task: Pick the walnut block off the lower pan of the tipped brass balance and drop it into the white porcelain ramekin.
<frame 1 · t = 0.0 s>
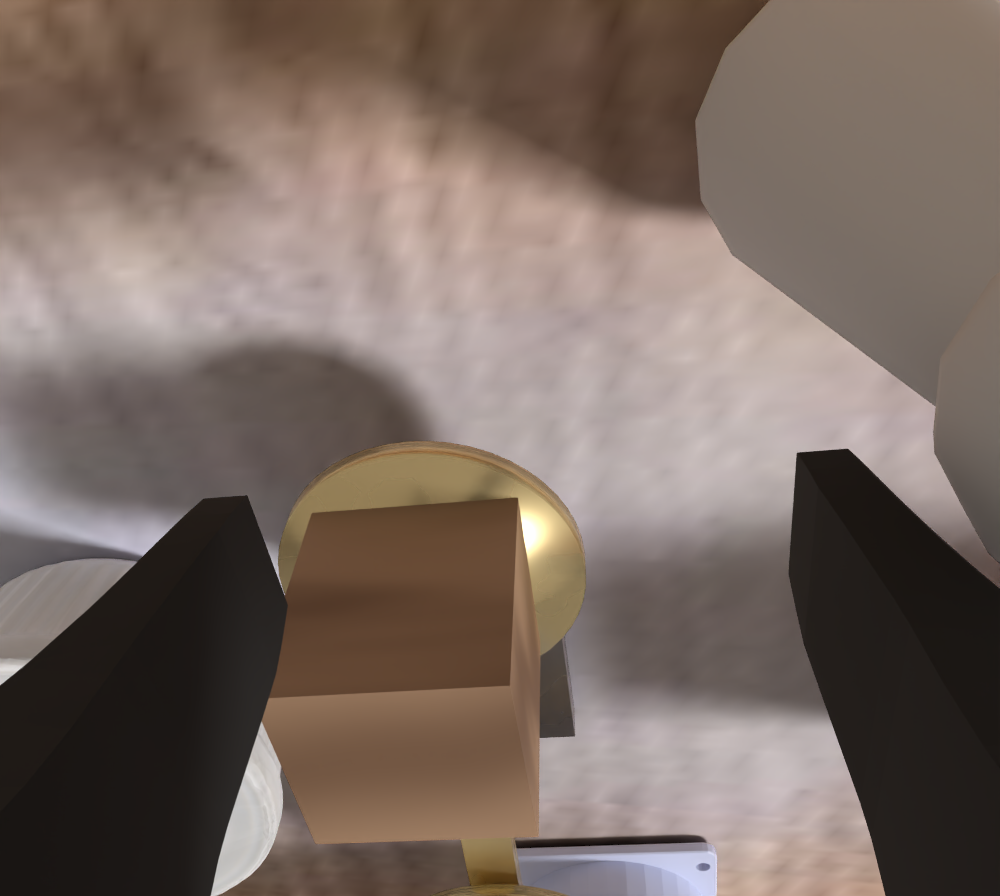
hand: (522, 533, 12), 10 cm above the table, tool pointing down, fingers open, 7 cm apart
block: (431, 581, 21), point 4 cm above the table, touching balance
salt shaker: (817, 100, 19), on the table, touching gripper
ramekin: (144, 651, 30), on the table
balance: (484, 651, 28), on the table
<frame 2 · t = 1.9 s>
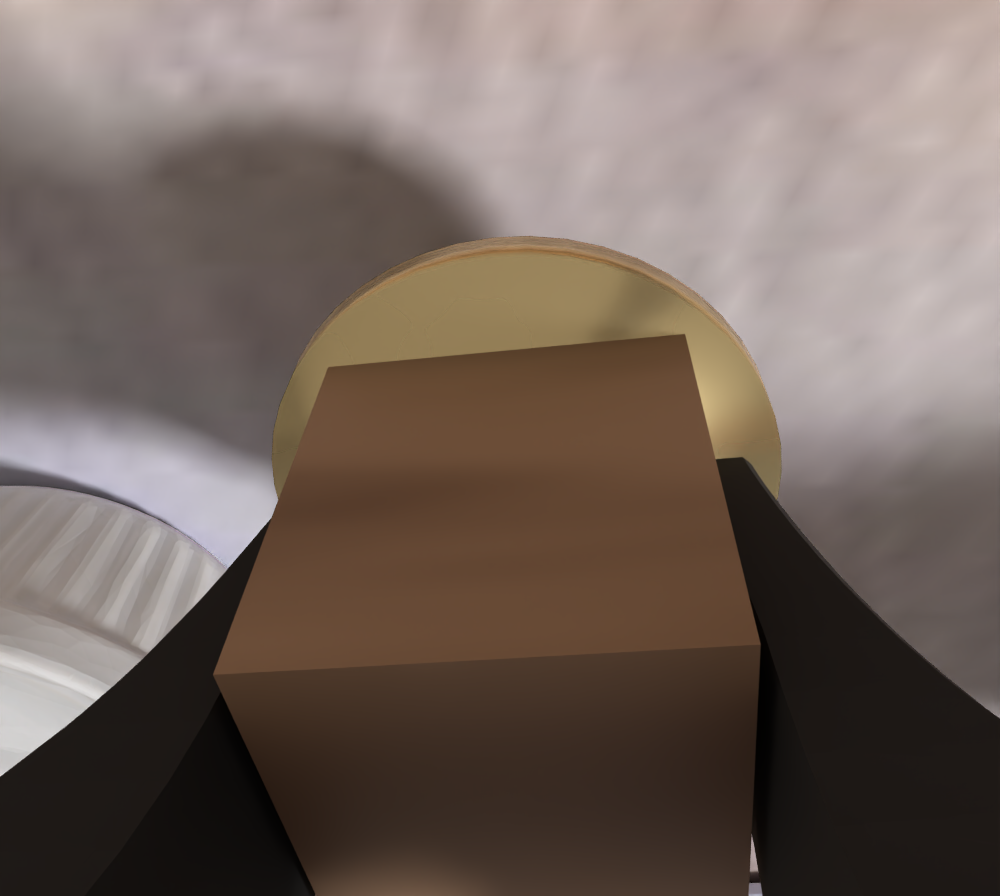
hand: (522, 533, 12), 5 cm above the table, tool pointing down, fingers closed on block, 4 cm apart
block: (523, 490, 13), point 4 cm above the table, touching balance, gripper
ramekin: (89, 624, 21), on the table
balance: (564, 622, 20), on the table
when the fingers open (5 cm above the table, at t = 5.2 s): block stays where it is, resting on ramekin.
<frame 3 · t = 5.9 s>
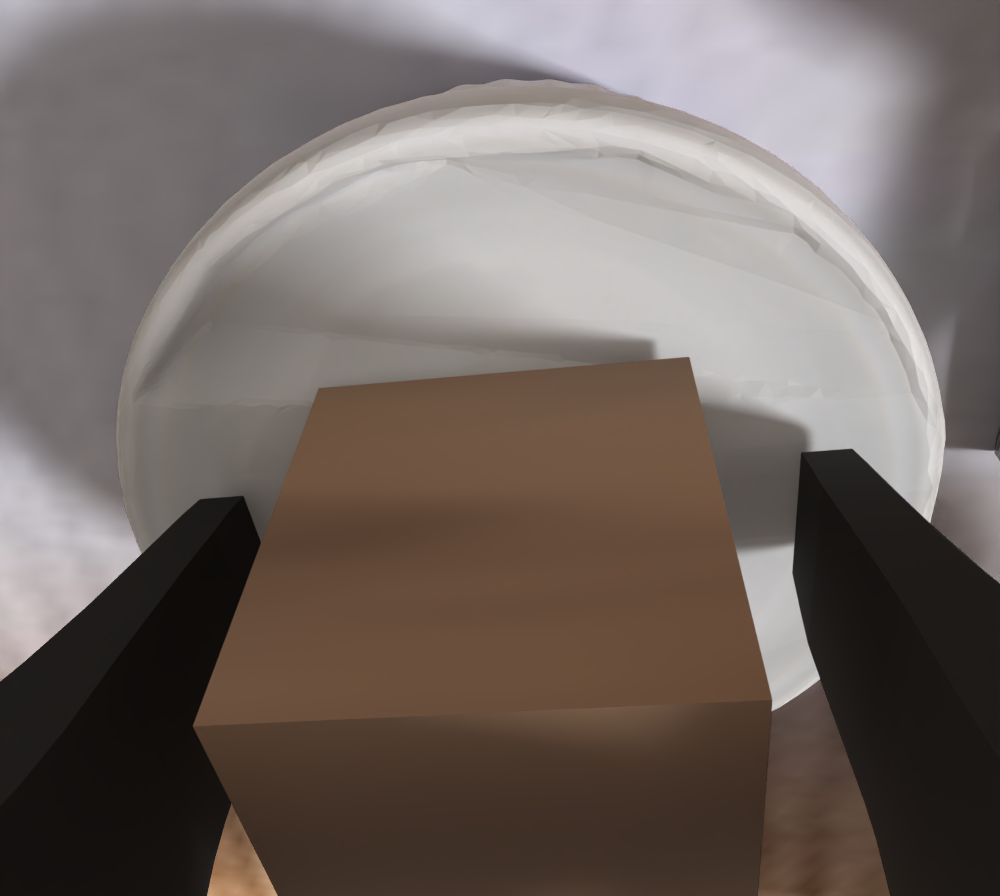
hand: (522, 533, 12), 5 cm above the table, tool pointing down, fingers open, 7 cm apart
block: (520, 515, 12), point 5 cm above the table, touching ramekin
ramekin: (528, 336, 17), on the table, touching block
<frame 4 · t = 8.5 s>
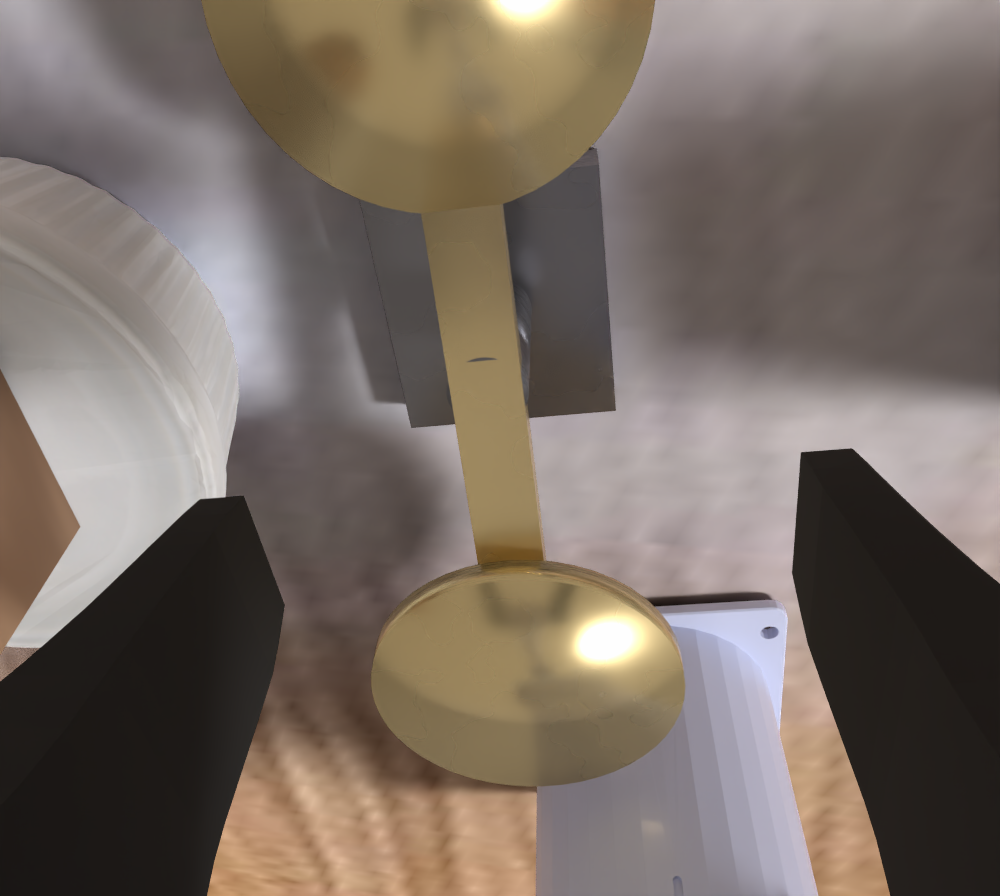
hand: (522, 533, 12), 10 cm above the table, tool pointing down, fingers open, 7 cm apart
ramekin: (57, 331, 23), on the table, touching block
balance: (497, 289, 21), on the table
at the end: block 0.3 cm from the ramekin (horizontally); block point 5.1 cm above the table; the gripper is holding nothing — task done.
